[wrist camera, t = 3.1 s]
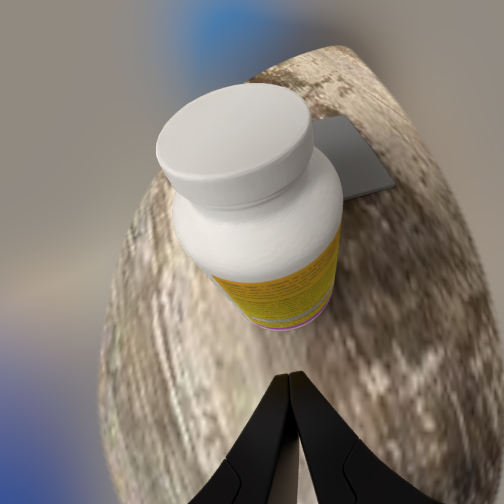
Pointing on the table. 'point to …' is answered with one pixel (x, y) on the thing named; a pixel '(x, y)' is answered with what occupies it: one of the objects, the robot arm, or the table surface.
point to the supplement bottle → (255, 201)
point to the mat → (350, 157)
